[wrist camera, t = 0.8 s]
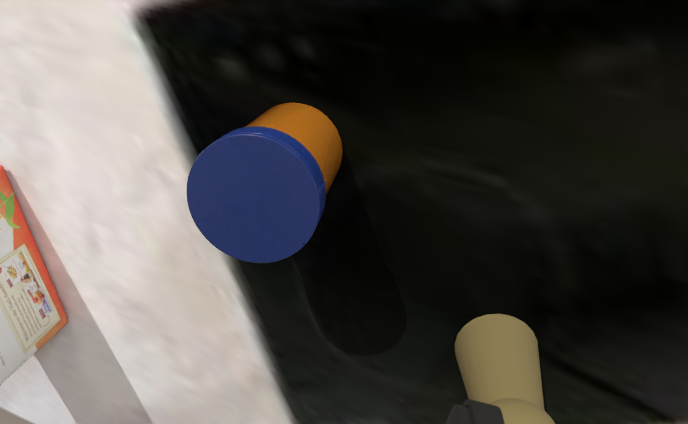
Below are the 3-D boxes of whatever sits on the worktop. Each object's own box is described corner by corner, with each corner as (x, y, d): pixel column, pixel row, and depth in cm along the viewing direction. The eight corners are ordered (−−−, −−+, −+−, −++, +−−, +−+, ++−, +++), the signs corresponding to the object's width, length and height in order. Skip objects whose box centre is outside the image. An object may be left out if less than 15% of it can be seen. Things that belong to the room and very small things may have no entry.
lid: (313, 116, 27) (306, 124, 25) (337, 242, 29) (332, 256, 27) (185, 135, 28) (169, 144, 26) (218, 253, 30) (206, 268, 29)
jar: (333, 95, 34) (302, 129, 26) (349, 188, 37) (326, 248, 28) (240, 110, 36) (180, 146, 27) (261, 199, 38) (213, 259, 29)
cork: (438, 336, 40) (444, 450, 30) (511, 300, 38) (543, 409, 28) (480, 392, 41) (499, 520, 31) (553, 361, 39) (597, 486, 29)
